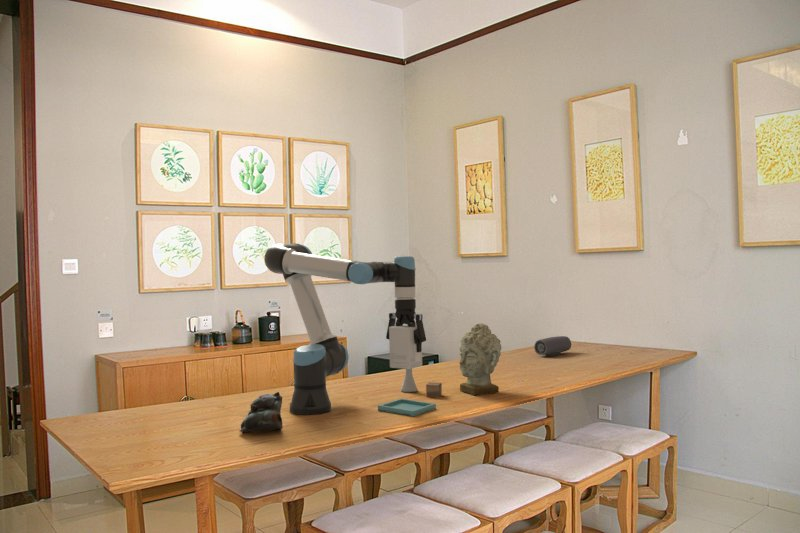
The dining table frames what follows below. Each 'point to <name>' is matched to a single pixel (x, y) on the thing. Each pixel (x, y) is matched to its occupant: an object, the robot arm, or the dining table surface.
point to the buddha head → (479, 360)
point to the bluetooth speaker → (552, 345)
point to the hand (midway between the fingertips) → (406, 359)
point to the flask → (409, 382)
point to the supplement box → (402, 347)
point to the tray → (407, 407)
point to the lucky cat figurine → (264, 414)
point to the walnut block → (433, 389)
